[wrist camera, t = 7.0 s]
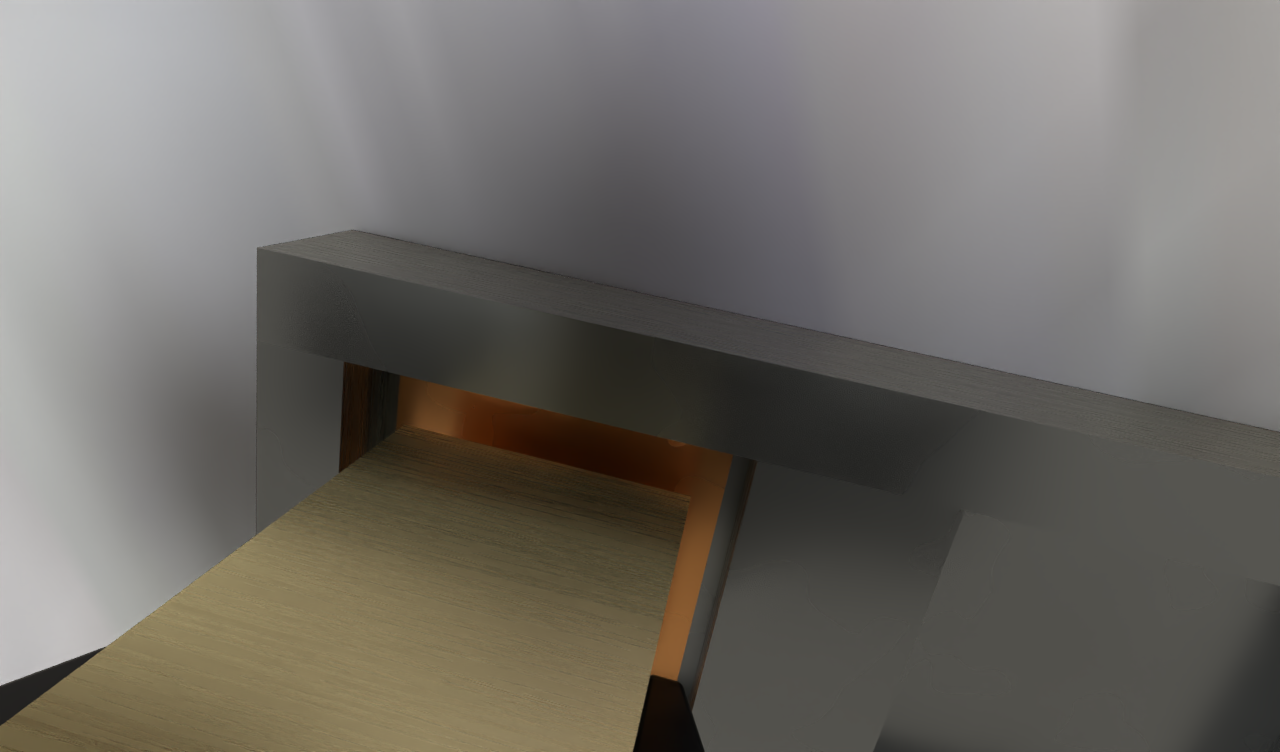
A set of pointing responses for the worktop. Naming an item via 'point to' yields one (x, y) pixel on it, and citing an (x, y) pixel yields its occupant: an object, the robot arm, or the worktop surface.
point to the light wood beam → (398, 620)
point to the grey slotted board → (822, 504)
